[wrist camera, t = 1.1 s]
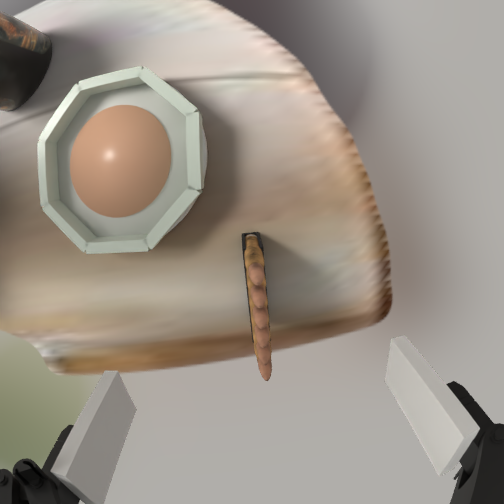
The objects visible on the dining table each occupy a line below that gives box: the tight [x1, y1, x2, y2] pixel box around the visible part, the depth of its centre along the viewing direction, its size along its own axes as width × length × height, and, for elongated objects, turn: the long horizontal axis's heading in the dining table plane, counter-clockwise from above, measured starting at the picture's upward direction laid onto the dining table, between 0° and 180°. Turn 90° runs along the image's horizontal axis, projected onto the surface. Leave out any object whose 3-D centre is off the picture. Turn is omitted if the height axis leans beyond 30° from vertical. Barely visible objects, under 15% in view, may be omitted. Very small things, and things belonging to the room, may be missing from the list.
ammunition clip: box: [242, 232, 272, 381], centre depth 27 cm, size 11×2×12 cm, turn 5°
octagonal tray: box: [37, 66, 208, 254], centre depth 26 cm, size 19×19×4 cm
